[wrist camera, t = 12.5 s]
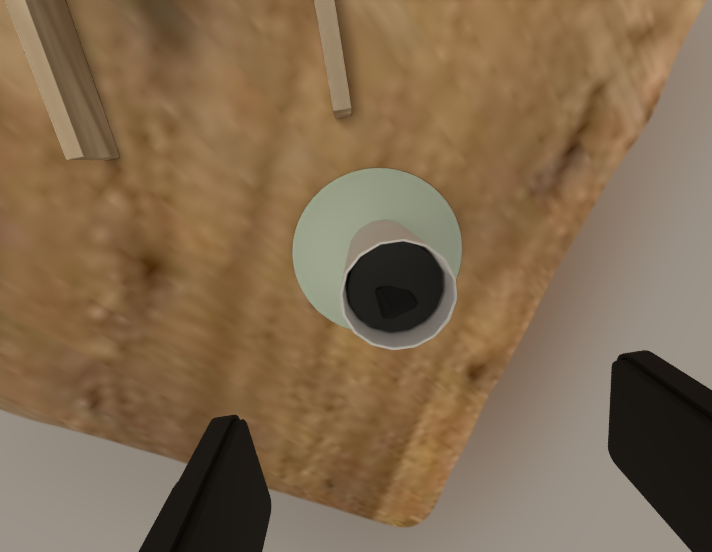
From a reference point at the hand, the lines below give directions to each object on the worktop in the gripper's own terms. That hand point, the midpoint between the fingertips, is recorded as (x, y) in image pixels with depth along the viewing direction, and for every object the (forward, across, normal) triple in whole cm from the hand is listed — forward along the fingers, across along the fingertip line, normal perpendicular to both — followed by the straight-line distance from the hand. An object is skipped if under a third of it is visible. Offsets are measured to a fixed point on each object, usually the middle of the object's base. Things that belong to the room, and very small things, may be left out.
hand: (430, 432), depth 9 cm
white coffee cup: (+22, 0, +1) cm, 22 cm away
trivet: (+22, 0, +1) cm, 22 cm away
